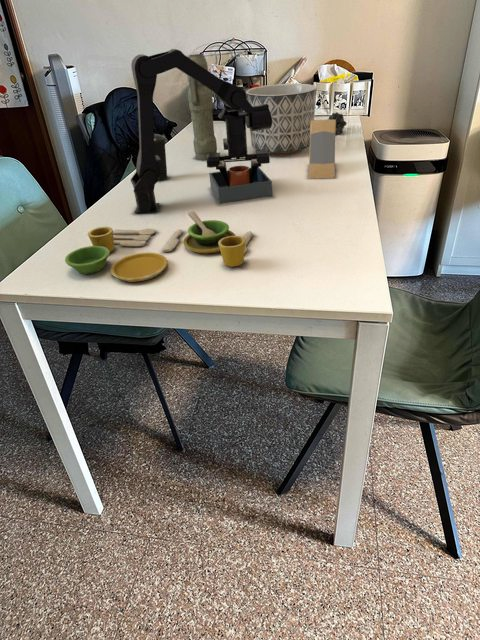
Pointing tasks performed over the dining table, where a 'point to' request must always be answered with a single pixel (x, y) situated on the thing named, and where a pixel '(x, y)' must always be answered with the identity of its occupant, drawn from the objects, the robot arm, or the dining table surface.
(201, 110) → the thermos
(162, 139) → the drinking cup
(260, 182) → the tote
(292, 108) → the planter
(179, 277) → the dining table surface
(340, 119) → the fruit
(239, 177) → the coffee cup
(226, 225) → the tableware set
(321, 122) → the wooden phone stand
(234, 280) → the dining table surface
